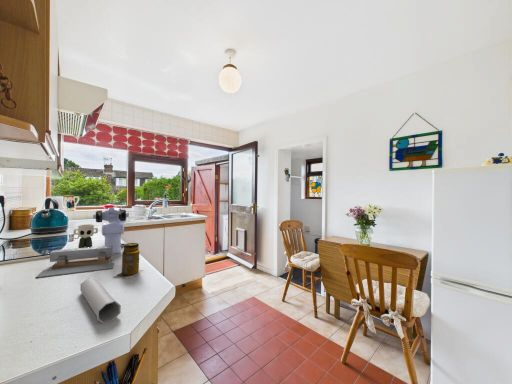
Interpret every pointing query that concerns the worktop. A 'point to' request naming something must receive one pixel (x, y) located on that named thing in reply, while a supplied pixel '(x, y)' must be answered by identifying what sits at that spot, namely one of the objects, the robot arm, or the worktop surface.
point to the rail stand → (80, 261)
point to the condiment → (130, 261)
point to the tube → (100, 300)
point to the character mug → (85, 235)
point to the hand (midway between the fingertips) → (109, 217)
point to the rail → (81, 253)
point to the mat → (75, 270)
